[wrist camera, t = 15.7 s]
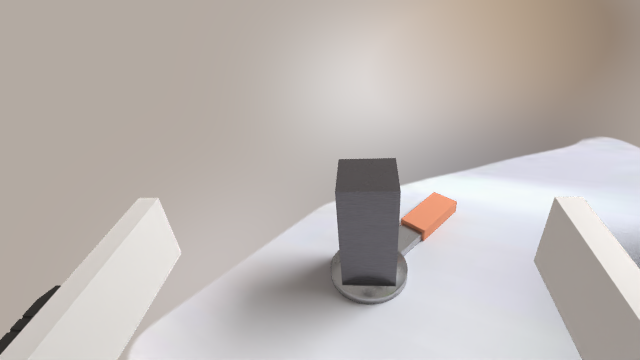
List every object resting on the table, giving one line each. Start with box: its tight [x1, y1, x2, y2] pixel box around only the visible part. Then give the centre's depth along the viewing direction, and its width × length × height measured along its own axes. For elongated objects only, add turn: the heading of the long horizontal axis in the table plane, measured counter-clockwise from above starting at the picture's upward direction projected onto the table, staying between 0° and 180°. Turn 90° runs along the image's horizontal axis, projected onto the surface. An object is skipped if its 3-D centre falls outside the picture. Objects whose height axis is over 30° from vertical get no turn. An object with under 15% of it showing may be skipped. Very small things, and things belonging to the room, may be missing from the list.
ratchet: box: [331, 192, 457, 304], centre depth 46 cm, size 22×9×4 cm, turn 134°
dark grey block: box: [335, 158, 401, 286], centre depth 40 cm, size 6×6×13 cm
